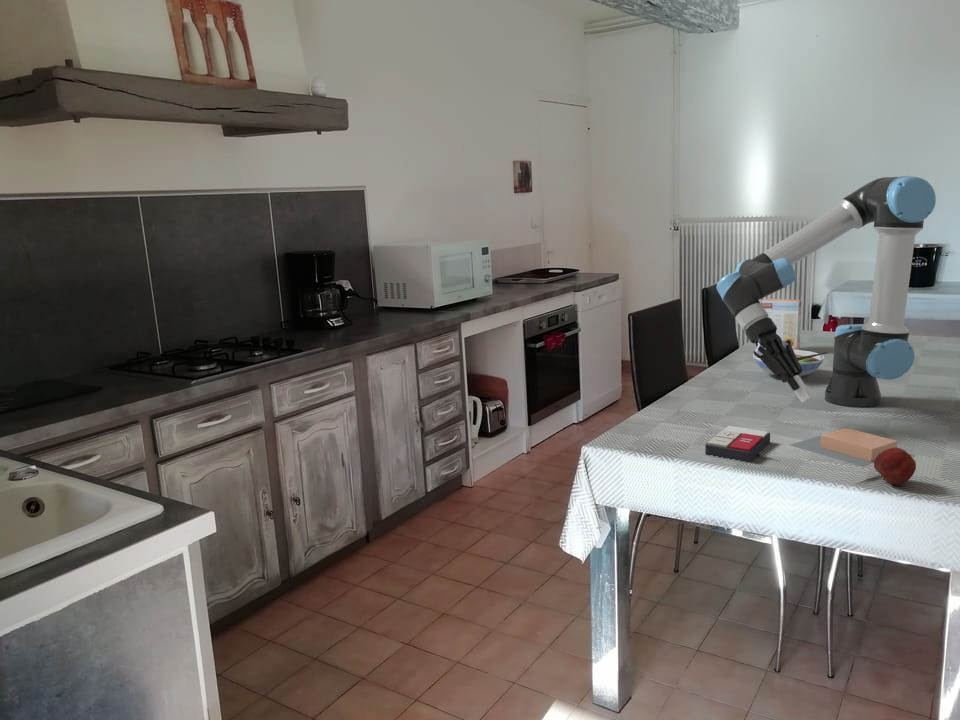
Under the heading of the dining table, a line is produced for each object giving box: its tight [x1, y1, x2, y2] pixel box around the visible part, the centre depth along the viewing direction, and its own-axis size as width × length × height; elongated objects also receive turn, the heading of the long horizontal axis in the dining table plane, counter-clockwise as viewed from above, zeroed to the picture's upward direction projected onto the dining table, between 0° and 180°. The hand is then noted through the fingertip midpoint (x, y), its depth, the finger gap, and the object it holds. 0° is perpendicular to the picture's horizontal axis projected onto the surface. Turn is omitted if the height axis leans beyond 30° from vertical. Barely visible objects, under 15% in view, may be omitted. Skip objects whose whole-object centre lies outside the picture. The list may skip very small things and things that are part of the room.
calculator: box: [704, 425, 771, 463], centre depth 186 cm, size 11×4×15 cm
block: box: [820, 427, 898, 462], centre depth 181 cm, size 10×3×13 cm
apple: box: [873, 446, 917, 486], centre depth 162 cm, size 7×8×8 cm
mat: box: [790, 432, 908, 467], centre depth 183 cm, size 18×19×1 cm
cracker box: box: [760, 298, 803, 350], centre depth 294 cm, size 14×6×21 cm, turn 58°
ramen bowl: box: [752, 349, 828, 377], centre depth 257 cm, size 25×23×8 cm
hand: (807, 399), depth 192 cm, fingers closed
